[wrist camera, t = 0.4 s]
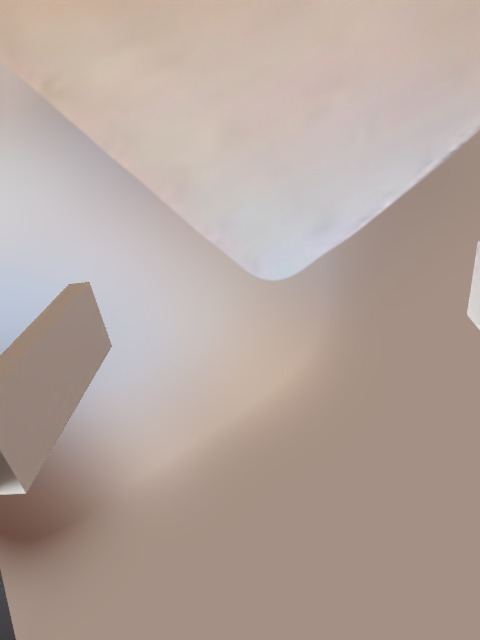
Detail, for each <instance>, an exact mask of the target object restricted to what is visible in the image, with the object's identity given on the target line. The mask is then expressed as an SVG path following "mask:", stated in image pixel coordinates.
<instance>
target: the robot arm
mask: <svg viewBox="0 0 480 640" xmlns="http://www.w3.org/2000/svg"><path fill="white" fill-rule="evenodd" d="M467 315H468V317H469V318H470V319H471V320H472V321H473V322H474V324H475V325H476V326H477V327H478V328H479V330H480V240H478V245H477V252H476V259H475V265H474V272H473V278H472V285H471V292H470V298H469V305H468V312H467ZM111 347H112V345H111V342H110V339H109V337H108V334H107V331H106V328H105V325H104V322H103V320H102V317H101V314H100V311H99V308H98V305H97V302H96V300H95V297H94V294H93V291H92V288H91V285H90V283H89V282H85V283H76V284H69V285H68V286H67V287H66V288H65V289H64V290H63V291H62V292H61V293H60V294H59V295H58V296H57V297H56V299H55V300H53V302H52V303H51V304H50V305H49V306H48V307H47V308H46V309H45V310H44V311H43V312H42V313H41V314H40V315H39V316H38V317H37V318H36V319H35V320H34V321H33V322H32V323H31V324H30V325H29V326H28V327H27V329H26V330H25V331H24V332H23V333H22V334H21V335H20V336H19V337H18V338H17V339H16V340H15V341H14V342H13V343H12V344H11V345H10V346H9V347H8V348H7V349H6V350H5V351H4V352H3V353H2V355H0V495H1V494H21V493H27V491H28V489H29V488H30V486H31V484H32V482H33V481H34V479H35V477H36V476H37V474H38V472H39V470H40V469H41V467H42V465H43V464H44V462H45V460H46V458H47V457H48V455H49V453H50V451H51V450H52V448H53V446H54V445H55V443H56V441H57V439H58V438H59V436H60V434H61V433H62V431H63V429H64V427H65V426H66V424H67V422H68V421H69V419H70V417H71V415H72V413H73V412H74V410H75V409H76V407H77V405H78V403H79V402H80V400H81V398H82V397H83V395H84V393H85V391H86V390H87V388H88V386H89V384H90V383H91V381H92V379H93V377H94V376H95V374H96V372H97V371H98V369H99V367H100V366H101V364H102V362H103V360H104V359H105V357H106V355H107V354H108V352H109V350H110V348H111ZM0 640H16V639H15V635H14V630H13V625H12V621H11V616H10V612H9V607H8V602H7V598H6V593H5V589H4V584H3V580H2V575H1V571H0Z"/></svg>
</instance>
